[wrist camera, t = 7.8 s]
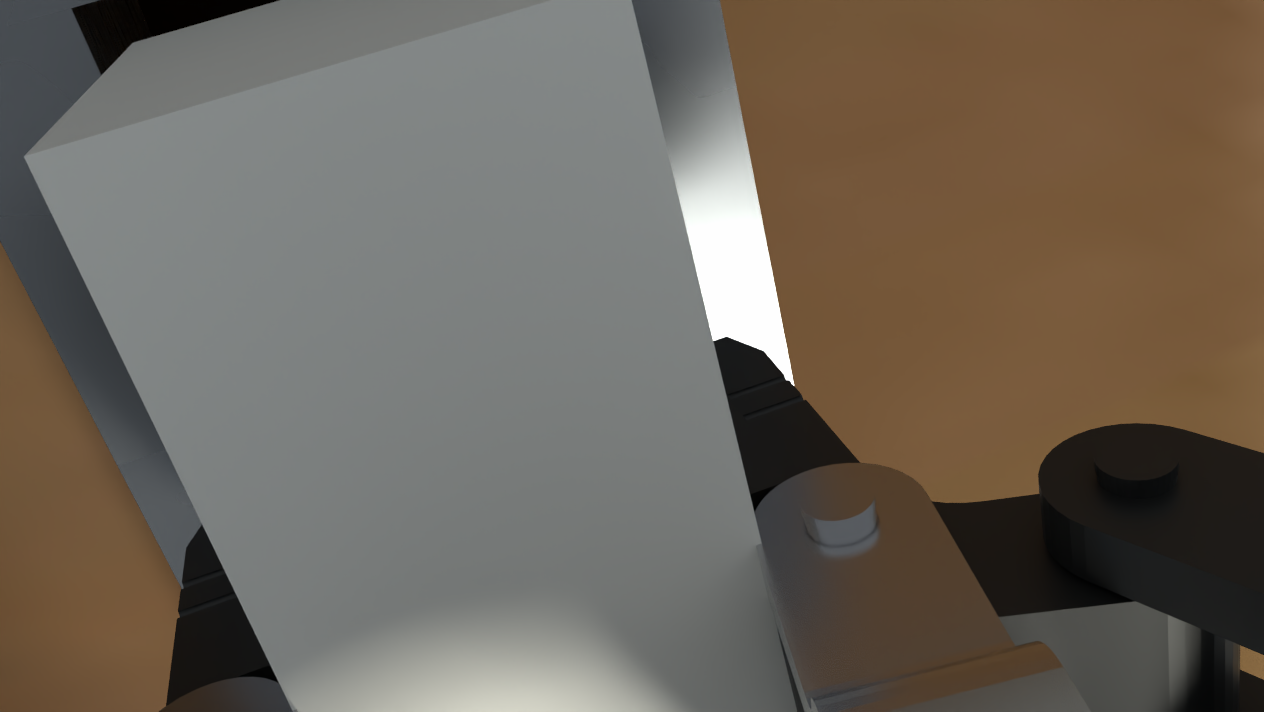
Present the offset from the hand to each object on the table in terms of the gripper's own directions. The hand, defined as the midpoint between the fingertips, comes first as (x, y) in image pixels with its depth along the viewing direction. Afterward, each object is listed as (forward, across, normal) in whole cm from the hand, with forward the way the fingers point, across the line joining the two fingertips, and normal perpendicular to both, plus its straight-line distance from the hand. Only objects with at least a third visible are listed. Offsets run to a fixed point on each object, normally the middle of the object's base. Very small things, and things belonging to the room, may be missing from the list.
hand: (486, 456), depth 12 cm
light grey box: (+3, 0, 0) cm, 3 cm away
